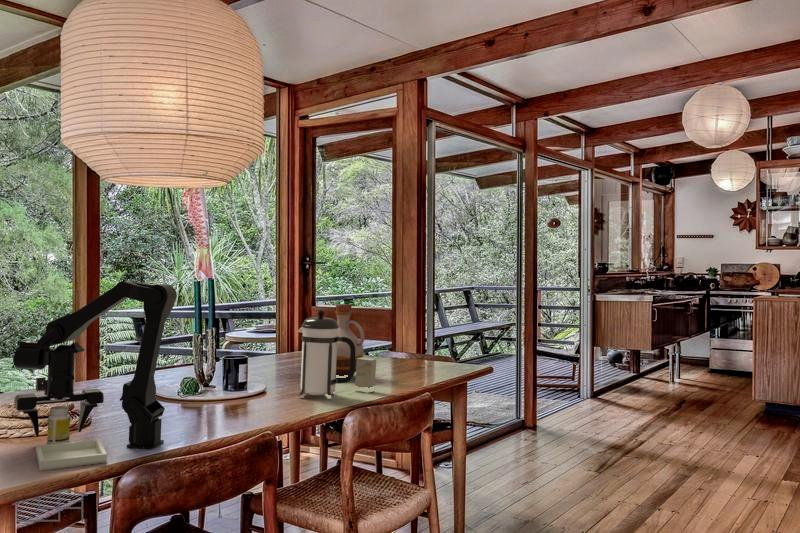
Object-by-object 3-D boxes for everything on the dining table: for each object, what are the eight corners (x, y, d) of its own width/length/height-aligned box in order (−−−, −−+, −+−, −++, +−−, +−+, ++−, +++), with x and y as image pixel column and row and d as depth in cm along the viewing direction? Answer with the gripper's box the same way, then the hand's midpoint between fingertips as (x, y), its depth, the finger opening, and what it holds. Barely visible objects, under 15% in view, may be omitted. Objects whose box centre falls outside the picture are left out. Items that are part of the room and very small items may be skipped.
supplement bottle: (72, 439, 158) (74, 405, 158) (63, 444, 153) (64, 409, 153) (53, 438, 158) (54, 405, 158) (43, 444, 153) (44, 409, 153)
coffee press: (312, 403, 210) (315, 312, 210) (287, 394, 223) (291, 308, 223) (355, 398, 221) (358, 311, 221) (329, 390, 234) (333, 308, 234)
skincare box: (354, 391, 233) (355, 358, 233) (360, 389, 237) (361, 357, 237) (369, 393, 230) (371, 360, 230) (375, 391, 234) (376, 358, 234)
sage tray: (98, 447, 152) (99, 439, 152) (106, 463, 141) (106, 454, 141) (36, 454, 145) (36, 445, 145) (39, 470, 134) (39, 461, 134)
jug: (374, 378, 262) (377, 305, 262) (348, 384, 247) (351, 306, 247) (336, 372, 273) (339, 302, 273) (309, 377, 257) (312, 303, 257)
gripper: (95, 363, 168) (92, 422, 168) (12, 367, 156) (9, 431, 156) (105, 369, 159) (102, 432, 159) (18, 375, 148) (15, 442, 148)
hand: (58, 434), depth 156 cm, fingers open, 9 cm apart
